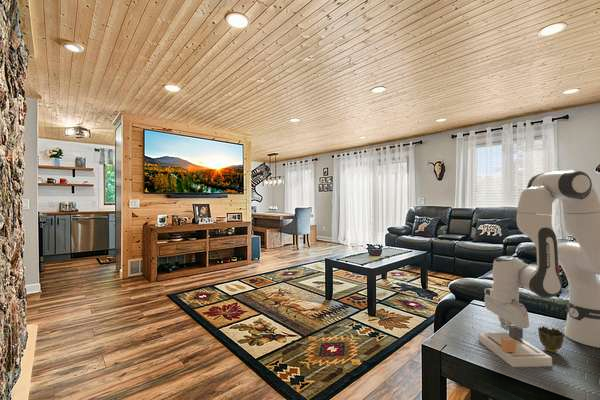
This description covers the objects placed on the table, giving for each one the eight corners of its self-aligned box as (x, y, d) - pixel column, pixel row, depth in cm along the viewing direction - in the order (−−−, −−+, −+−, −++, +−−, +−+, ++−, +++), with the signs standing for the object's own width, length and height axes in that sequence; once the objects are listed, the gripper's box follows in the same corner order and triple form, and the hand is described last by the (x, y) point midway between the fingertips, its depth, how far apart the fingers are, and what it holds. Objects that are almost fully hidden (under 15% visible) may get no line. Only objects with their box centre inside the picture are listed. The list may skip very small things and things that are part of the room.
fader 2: (517, 335, 113) (517, 325, 113) (522, 338, 111) (522, 328, 110) (509, 335, 113) (509, 325, 113) (513, 338, 110) (513, 328, 110)
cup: (563, 350, 108) (563, 330, 108) (564, 359, 102) (564, 337, 102) (538, 344, 113) (538, 324, 113) (537, 351, 107) (537, 331, 107)
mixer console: (511, 339, 116) (511, 332, 116) (552, 366, 98) (552, 357, 98) (478, 340, 116) (478, 333, 116) (512, 367, 98) (512, 358, 98)
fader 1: (510, 348, 104) (510, 337, 104) (515, 351, 101) (515, 340, 101) (501, 348, 104) (501, 337, 104) (506, 352, 101) (506, 340, 101)
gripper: (534, 305, 107) (534, 341, 107) (495, 287, 127) (495, 318, 127) (517, 305, 107) (517, 341, 107) (481, 287, 127) (481, 318, 127)
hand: (505, 328), depth 117 cm, fingers closed
